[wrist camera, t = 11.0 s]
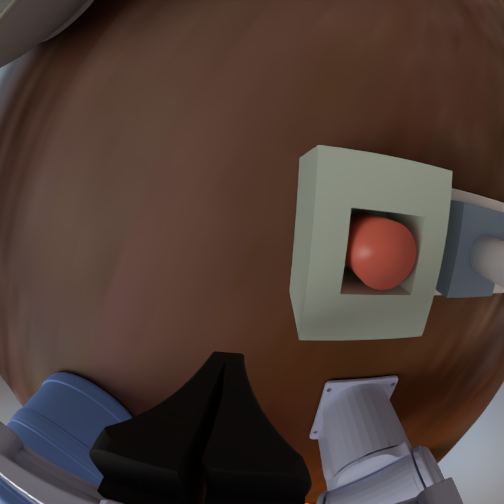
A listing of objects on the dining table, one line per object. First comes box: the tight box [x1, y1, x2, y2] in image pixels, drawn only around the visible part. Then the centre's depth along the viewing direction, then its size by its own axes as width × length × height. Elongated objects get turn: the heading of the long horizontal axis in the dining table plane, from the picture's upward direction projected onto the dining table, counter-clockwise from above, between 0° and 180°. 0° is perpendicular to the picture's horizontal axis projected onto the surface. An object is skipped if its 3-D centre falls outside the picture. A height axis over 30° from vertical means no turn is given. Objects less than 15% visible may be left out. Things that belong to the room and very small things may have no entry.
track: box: [289, 145, 504, 340], centre depth 16 cm, size 10×30×7 cm, turn 87°
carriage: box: [435, 200, 504, 298], centre depth 14 cm, size 7×6×6 cm
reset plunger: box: [345, 212, 416, 290], centre depth 14 cm, size 4×4×4 cm
